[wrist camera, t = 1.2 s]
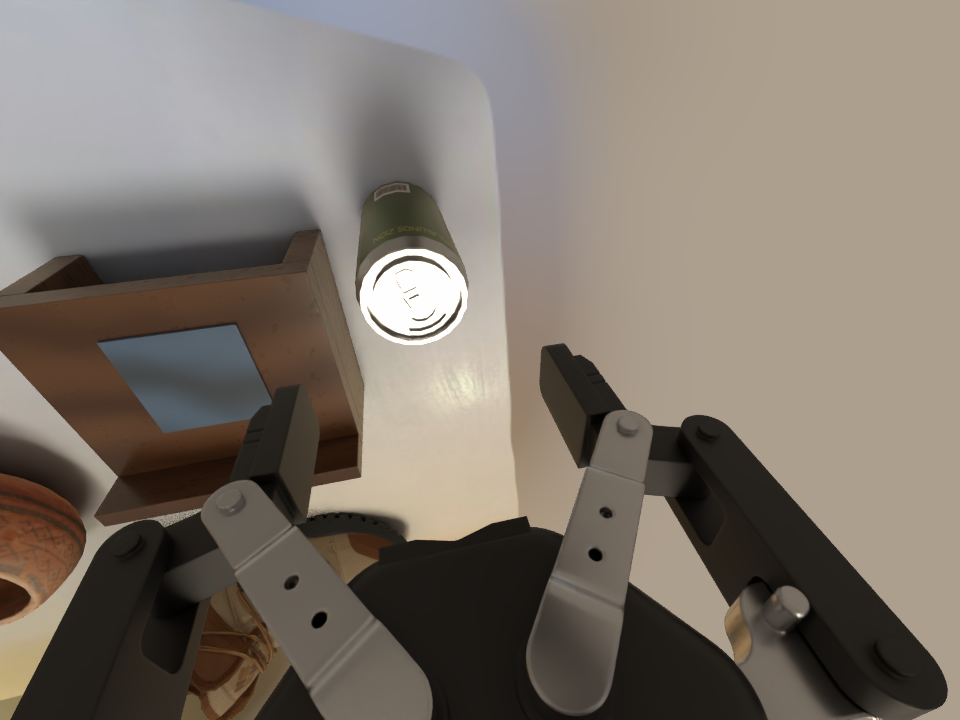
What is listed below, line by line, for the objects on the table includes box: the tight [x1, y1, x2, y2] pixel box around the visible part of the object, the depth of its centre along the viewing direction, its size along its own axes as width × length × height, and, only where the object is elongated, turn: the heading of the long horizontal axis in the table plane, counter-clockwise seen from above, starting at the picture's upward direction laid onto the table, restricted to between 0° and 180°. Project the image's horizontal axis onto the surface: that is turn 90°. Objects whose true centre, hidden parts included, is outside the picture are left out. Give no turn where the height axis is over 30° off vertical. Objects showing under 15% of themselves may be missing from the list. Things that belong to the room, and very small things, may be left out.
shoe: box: [187, 514, 407, 720], centre depth 41 cm, size 10×27×15 cm, turn 81°
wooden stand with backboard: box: [0, 230, 364, 526], centre depth 26 cm, size 14×16×10 cm
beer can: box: [355, 182, 468, 345], centre depth 23 cm, size 5×5×12 cm
